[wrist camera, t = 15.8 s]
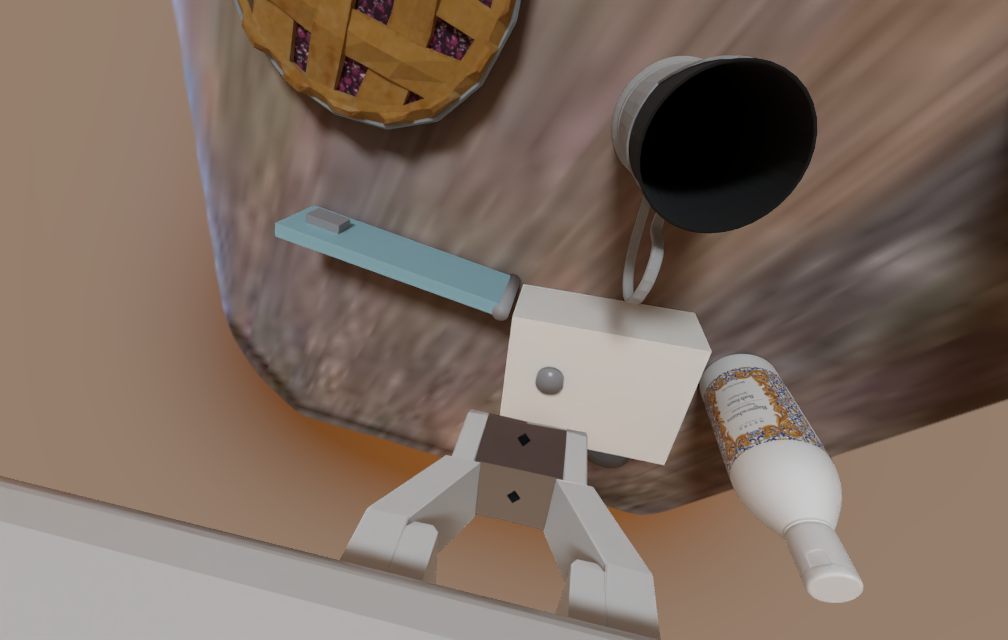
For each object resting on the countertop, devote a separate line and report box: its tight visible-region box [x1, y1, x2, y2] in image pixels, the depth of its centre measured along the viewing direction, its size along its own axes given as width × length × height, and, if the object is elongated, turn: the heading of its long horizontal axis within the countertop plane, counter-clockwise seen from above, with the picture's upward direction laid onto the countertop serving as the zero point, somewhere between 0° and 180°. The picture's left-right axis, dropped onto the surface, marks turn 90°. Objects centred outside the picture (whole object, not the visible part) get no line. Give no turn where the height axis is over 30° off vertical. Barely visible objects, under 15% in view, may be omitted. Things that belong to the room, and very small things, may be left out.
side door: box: [275, 205, 520, 321], centre depth 38 cm, size 2×21×7 cm, turn 73°
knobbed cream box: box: [500, 284, 712, 468], centre depth 41 cm, size 16×16×7 cm
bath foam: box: [700, 354, 863, 603], centre depth 33 cm, size 7×7×20 cm
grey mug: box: [612, 56, 817, 305], centre depth 27 cm, size 9×14×15 cm, turn 164°
